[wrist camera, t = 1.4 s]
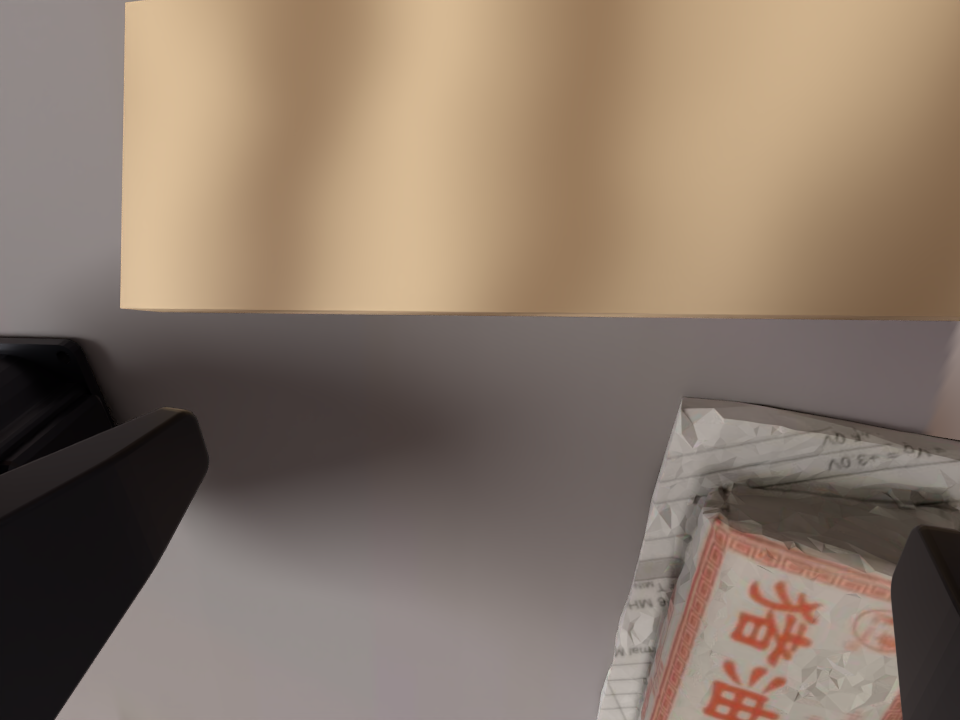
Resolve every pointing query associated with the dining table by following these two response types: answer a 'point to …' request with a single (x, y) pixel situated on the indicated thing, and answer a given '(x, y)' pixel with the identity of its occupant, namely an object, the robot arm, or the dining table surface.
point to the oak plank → (543, 158)
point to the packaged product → (774, 567)
